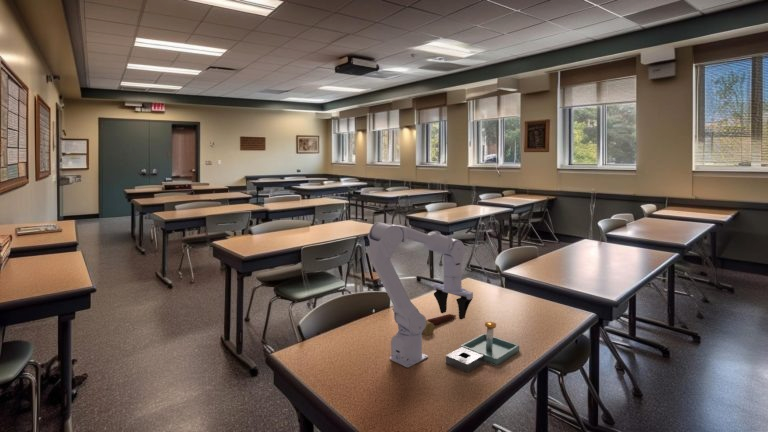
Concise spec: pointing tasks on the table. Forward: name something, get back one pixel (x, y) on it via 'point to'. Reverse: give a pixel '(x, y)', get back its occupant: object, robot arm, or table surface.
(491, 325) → the steel pin
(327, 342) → the table surface
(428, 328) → the gavel
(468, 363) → the block
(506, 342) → the tray
